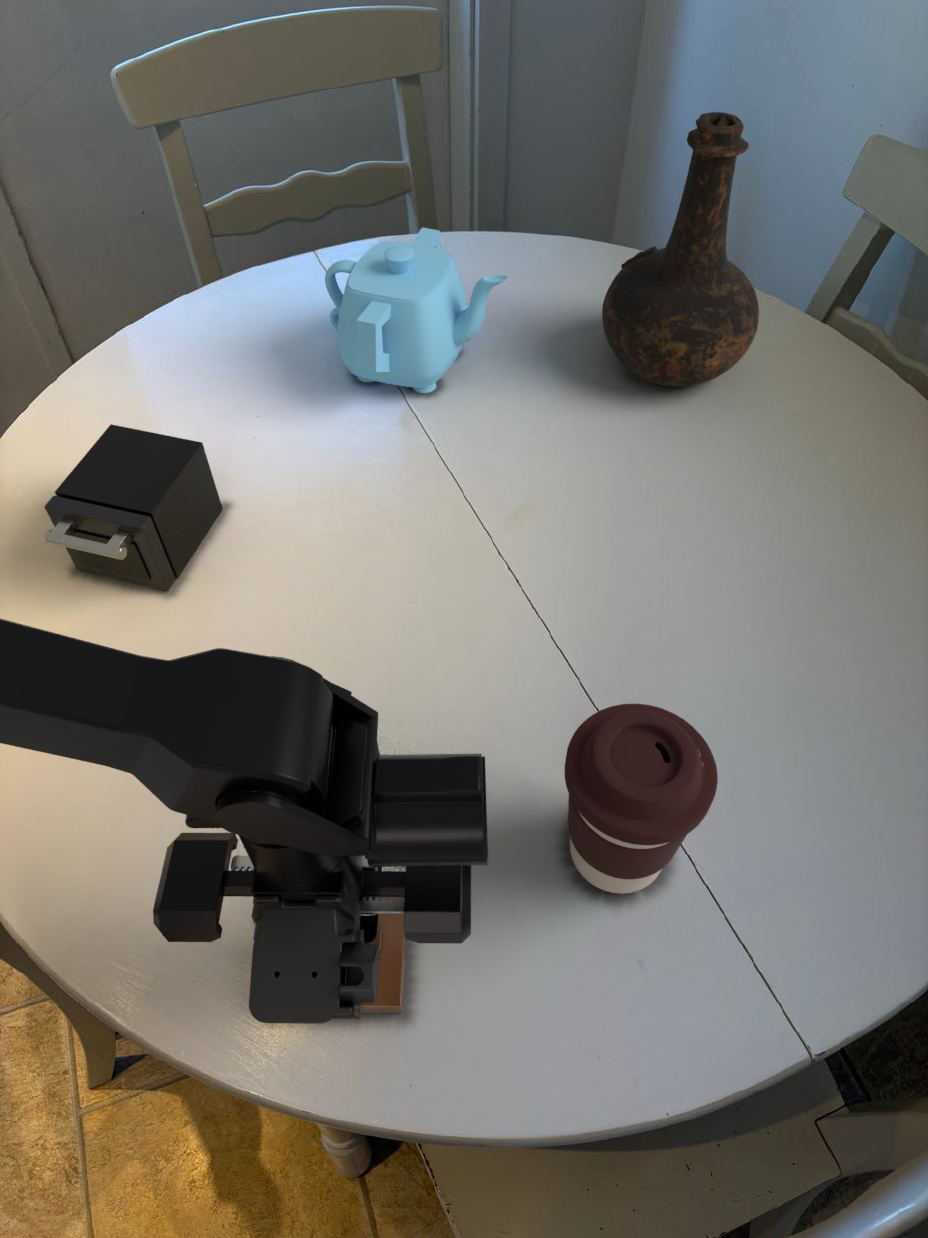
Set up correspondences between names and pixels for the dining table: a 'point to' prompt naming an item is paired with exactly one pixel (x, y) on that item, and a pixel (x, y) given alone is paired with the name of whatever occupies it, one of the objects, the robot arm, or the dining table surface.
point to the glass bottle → (688, 278)
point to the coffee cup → (634, 793)
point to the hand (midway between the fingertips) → (334, 933)
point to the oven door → (110, 542)
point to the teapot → (405, 312)
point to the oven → (151, 486)
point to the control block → (389, 964)
